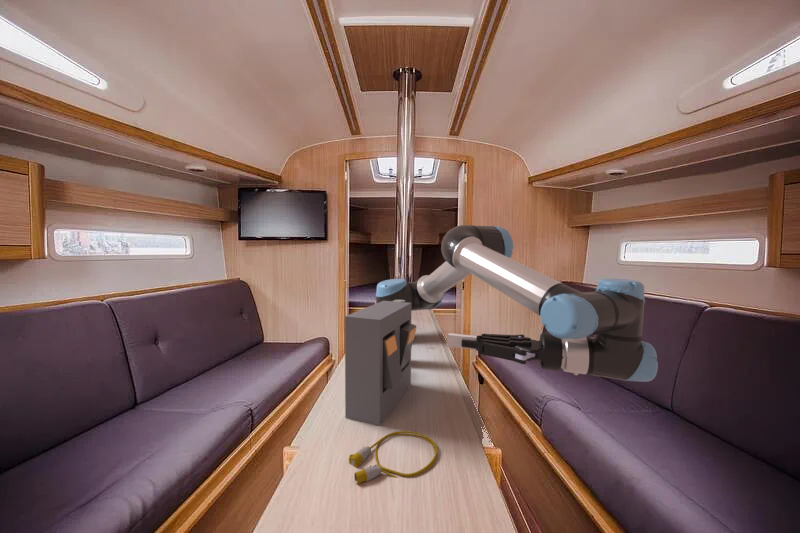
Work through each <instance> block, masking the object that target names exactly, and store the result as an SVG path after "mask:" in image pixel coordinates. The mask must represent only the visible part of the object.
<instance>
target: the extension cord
mask: <svg viewBox="0 0 800 533" xmlns="http://www.w3.org/2000/svg"><path fill="white" fill-rule="evenodd" d="M392 436H393V437H394V436H407V437H415V438H418V439H419V438H420V439H422V440H424V441H426V442H428V443H430V445H431V446H432V448H433V451H434V456H433V457H432V459H431V461H429V463H428V464H427V465H425V466H424V467H423V468H421V469H419V470H417V471H415V472H410V473H405V472H404V473H403V472H400V471H396V470H393V469H390V468H387V467H385V466H382V465H381V464H380V462H379V459H378V448H379V446H380V445H381V443H382V442H383V441H384V440H385V439H387V438H389V437H392ZM374 447H375V451H374V457H375V458H374V459H375V462H376V464H374V465H371V464H370V465H369V466H367V467H364V468H362V469H361V470H358V471H356V472H354V475H353V476H354V481H355V482H356V485H360V484H361V483H362V482H365V483H367V482H369V481H371V480H373V479H375V478H377V477H378V476H379V475H381V474H382V473H384V474H385V475H387V476H389V477H392V478H395V479H396V478H397V479H399V478H400V477H404V478H405V477H406V478H412V477H417V476H419V475H420V474H422V473H424V472H426V471H428V470H429V469H430V468H431V467H432V466H433V465H434V464H435V463H436V460H437V454H438V446H437V444H436V442H435V441H434V440H433V439H431V438H430V437H428V436H427V435H425V434H423V433H421V432H416V431H409V430H399V431H393V432H390V433H388V434H386V435H384V436H382V437H381V438H379V439H378V440H377V441H375V443H373V444H372V445H371V446H363V447H362V448H359V450H358V451H357V452H355V453H353V454H349V457H348V464H350V465H351V466H353V467H355V468H356V469H357V468H358V467H359V466H360V465H361V464H363V463H364V461H365V460H366V459H367V458H368V456H369V455H370V453H372V449H373V448H374ZM394 474H396V475H399V476H396V475H394Z"/></svg>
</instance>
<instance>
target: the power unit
mask: <svg viewBox="0 0 800 533" xmlns="http://www.w3.org/2000/svg"><path fill="white" fill-rule="evenodd" d="M412 313H413V311H412V303H408V302H395V301H381V302H379V303H377V304H376V303H373V304H372V305H369V306H367V307H365V308H362V309H359V310H357V311H355V312H353V313H349V314H347V315H345V316H344V342H345V343H344V353H345V354H344V362H345V363H344V365H345V367H344V371H345V372H344V376H345V377H344V378H345V379H344V382H345V383H344V386H345V388H344V389H345V394H344V396H345V397H344V399H345V401H344V402H345V404H344V405H345V406H344V407H345V411H344V412H345V417H344V418H345V419H350V420H354V421H358V422H362V423H366V424H371V425H374V426H381V425H382V423H383V422H384V420H386V418H387V416H389V414H390V413H391V412H392V410H393V409H394V408H395V406H396V405H397V404H398V402H399V401H400V400H401V398H402V397H403V395H405V393H406V391H407V390H408V389H409V388H410V386H411V385H412V381H411V380H412V351H411V352H410V357H409V361H408V363H407V364H406V365H405V366H404V367H403V368H402V369H401V372H402V378H401V379H400V381H399V382H398V383H397V384H396V385H395V386H394V388H393V389H384V387H383V337H384V336H386V335H387V334H393V333H394V335H395V339H396V344H397V350H398V356H399V361H400V331H401V329H402V328H403V327H404V326H406V325H407V324H409V323H410V324H412Z"/></svg>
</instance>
